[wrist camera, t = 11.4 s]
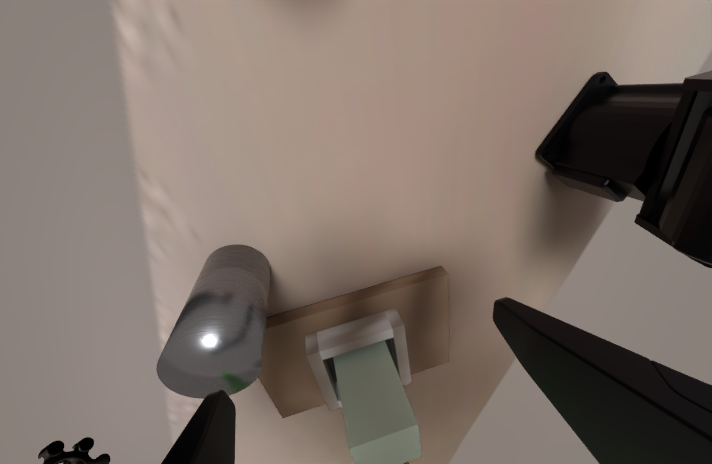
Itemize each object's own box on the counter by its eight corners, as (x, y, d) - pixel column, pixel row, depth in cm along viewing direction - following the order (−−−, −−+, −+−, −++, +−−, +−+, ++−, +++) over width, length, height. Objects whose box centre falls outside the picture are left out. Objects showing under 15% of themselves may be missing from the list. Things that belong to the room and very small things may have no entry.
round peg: (216, 235, 18) (172, 323, 11) (280, 256, 20) (276, 343, 13) (196, 286, 19) (145, 393, 13) (257, 301, 21) (243, 402, 14)
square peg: (379, 328, 24) (417, 424, 17) (385, 359, 26) (421, 456, 19) (330, 343, 23) (349, 449, 16) (340, 374, 25) (361, 479, 19)
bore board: (441, 265, 24) (461, 288, 21) (443, 352, 30) (459, 378, 27) (237, 326, 22) (230, 360, 19) (282, 406, 28) (282, 440, 25)
